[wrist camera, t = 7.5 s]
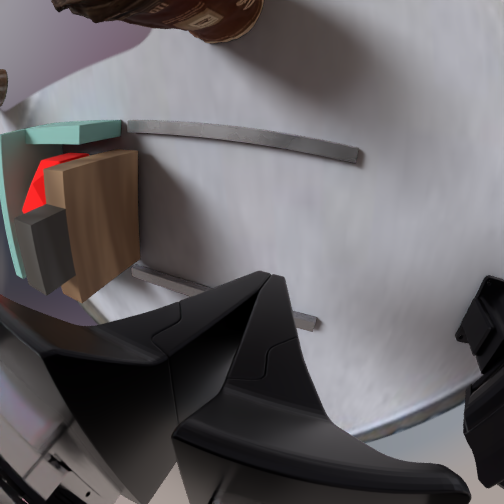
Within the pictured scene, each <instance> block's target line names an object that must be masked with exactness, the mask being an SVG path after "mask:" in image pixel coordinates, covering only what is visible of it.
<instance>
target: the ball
mask: <svg viewBox="0 0 504 504" xmlns="http://www.w3.org/2000/svg"><path fill="white" fill-rule="evenodd" d="M87 156H90V155H89V154H86V153H66V154H62V155H58V156H54V157H51V158H47V159H44V160H41V162H40V164H39V166H38V169H37V171H36V173H35V175H34V178H33V180H32V182H31V185H30V187H29V190H28V193H27V196H26V199H25V202H24V206H23V209H22V211H23V213H24V214H25V213H27V212H29V211H31V210H33V209H36V208H38V207H40V206H43V205H45V204H46V196H45V185H44V173H43V169H45V168H48V167H51V166H55V165H58V164H61V163H65V162H68V161H72V160H75V159H79V158H83V157H87Z"/></svg>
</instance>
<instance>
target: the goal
mask: <svg viewBox="0 0 504 504" xmlns="http://www.w3.org/2000/svg"><path fill="white" fill-rule="evenodd" d="M120 134H121V120H95V121H74V122H59V123H51V124H46V125H40V126H35V127H30V128H26V129H21V130H16V131H12V132H8V133H4V134H0V199H1V206H2V212H3V218H4V223H5V228H6V234H7V238H8V243H9V247H10V251H11V256H12V259H13V263H14V267H15V271H16V274H17V275H18V276H20V277H21V278H22V279H24V278H25V277H27V276H26V273H25V269H24V265H23V261H22V257H21V253H20V249H19V244H18V239H17V234H16V229H15V224H14V218H16V217H18V216H20V215H22V214H24V213H23V211H22V209H23V206H24V202H25V199H26V196H27V193H28V190H29V187H30V185H31V182H32V180H33V178H34V175H35V173H36V171H37V169H38V166H39V164H40V162H41V160H44V159H47V158H51V157H54V156H58V155H62V154H63V146H62V144H83V143H88V142H93V141H98V140H103V139H108V138H114V137H119V136H120Z"/></svg>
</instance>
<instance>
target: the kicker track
mask: <svg viewBox="0 0 504 504" xmlns="http://www.w3.org/2000/svg"><path fill="white" fill-rule="evenodd" d="M127 132H137V133H157V134H171V135H184V136H195V137H205V138H214V139H223V140H231V141H238V142H246V143H253V144H259V145H266V146H272V147H278V148H284V149H289V150H295V151H300V152H305V153H311V154H316V155H320V156H325V157H330V158H334V159H339V160H343V161H348V162H352V163H356V159H357V154H358V148H357V147H353V146H348V145H344V144H340V143H335V142H330V141H325V140H320V139H315V138H310V137H305V136H299V135H293V134H287V133H281V132H275V131H268V130H261V129H254V128H246V127H238V126H228V125H219V124H208V123H195V122H179V121H157V120H129V121H128V126H127ZM131 270H132V276H133V277H136V278H138V279H141V280H144V281H147V282H150V283H153V284H155V285H158V286H161V287H164V288H167V289H170V290H173V291H176V292H179V293H182V294H185V295H188V296H191V297H192V296H194V295H197V294H199V293H202V292H205V291H207V290H210V289H213V288H210V287H206V286H203V285H200V284H197V283H193V282H190V281H187V280H184V279H180V278H177V277H174V276H171V275H168V274H165V273H162V272H158V271H155V270H152V269H149V268H146V267H143V266H140V265H137V264H135V265H134V266H133V267H131ZM293 315H294V320H295V324H296V328H300V329H303V330H307V331H311V332H313V329H314V326H315V322H316V318H317V317H314V316H310V315H306V314H302V313H298V312H295V311H293Z"/></svg>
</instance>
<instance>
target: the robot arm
mask: <svg viewBox="0 0 504 504" xmlns="http://www.w3.org/2000/svg"><path fill="white" fill-rule="evenodd" d="M488 281H490V282H489V283H488V284H487V282H488ZM460 335H462V336H460ZM455 337H456V340H457V341H459V342H464V343H469V345H470V348H471V351H472V354H473V355H474V356H476V359H477V362H478V365H479V368H480V371H481V374H484V375H483V376H482V377H480V378H479V379H478V380H477V381H476V382H475V383H474V384H471V385H470V386H469V387H467V388H466V397H465V410H464V424H463V428H464V429H463V433H464V435H465V437H466V440H467V442H468V444H469V446H470V448H471V449H472V451H473V454H474V457H475V462H476V467H477V474H478V479H479V481H480V482H481V483H482V484H483V485H484V486H485V487H486V488H491V487H492V486H494V485H496V484H497V485H499V486H500V487H502V488H503V489H504V280H503V279H500V278H497V277H494V276H490V275H488V276H486V277H485V278H484V279H483V282H482V284H481V286H480V288H479V290H478V292H477V294H476V296H475V298H474V299H473V301H472V303H471V305H470V307H469V309H468V311H467V313H466V315H465V317H464V318H463V320H462V323H461V325H460V327H459V329H458V331H457V332H456V334H455ZM176 462H177V463H178V467H179V470H180V474H181V477H182V480H183V484H184V487H185V490H186V493H187V496H188V499H189V503H190V504H469V502H470V500H471V494H470V491H469V488H468V486H467V484H466V483H465V482H464V480H463V479H462V478H461V477H460V476H459V475H458V474H456V473H454V472H453V471H452V470H450V469H449V468H447V467H446V466H443V465H440V464H433V463H416V462H407V461H402V460H398V459H395V458H392V457H389V456H387V455H384V454H382V453H380V452H378V451H377V450H375V449H373V448H372V447H370V446H368V445H367V444H365V443H363V442H362V441H360V440H358V439H357V438H355V437H353V436H352V435H350V434H349V433H347V432H345V431H344V430H342V429H341V428H339V427H338V426H336V425H335V424H334V423H333V422H332V421H331V420H330V419H329V417H328V416H327V414H326V412H325V410H324V408H323V406H322V403H321V401H320V398H319V396H318V394H317V391H316V389H315V386H314V384H313V382H312V379H311V377H310V374H309V372H308V369H307V366H306V364H305V361H304V358H303V354H302V350H301V347H300V342H299V339H298V333H297V329H296V324H295V320H294V315H293V311H292V307H291V302H290V298H289V293H288V289H287V285H286V280H285V278H284V277H283V276H279V275H275V274H273V275H271V274H270V273H267V272H263V271H256V272H254V273H251V274H249V275H246V276H244V277H241V278H238V279H236V280H233V281H231V282H228V283H226V284H223V285H220V286H218V287H215V288H213V289H210V290H207V291H205V292H202V293H199V294H197V295H194V296H192V297H189V298H186V299H184V300H181V301H179V302H175V303H173V304H170V305H167V306H165V307H162V308H159V309H156V310H153V311H149V312H146V313H143V314H139V315H135V316H132V317H128V318H124V319H120V320H116V321H113V322H109V323H105V324H101V325H97V326H79V325H74V324H71V323H68V322H65V321H62V320H60V319H57V318H54V317H51V316H48V315H46V314H43V313H41V312H38V311H35V310H33V309H30V308H28V307H25V306H23V305H20V304H18V303H16V302H14V301H12V300H10V299H8V298H6V297H4V296H2V295H0V504H27V503H26V502H28V503H29V504H114V503H115V502H116V500H117V499H118V497H119V496H120V494H121V495H123V496H124V497H126V498H128V499H130V500H131V501H133V502H135V503H137V504H148V503H149V501H150V500H151V499H152V497H153V496H154V494H155V493H156V491H157V490H158V488H159V487H160V485H161V484H162V483H163V481H164V479H165V478H166V477H167V475H168V474H169V472H170V471H171V469H172V468H173V466H174V465H175V463H176ZM22 498H23V499H25V501H26V502H25V501H23V500H22Z"/></svg>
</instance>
